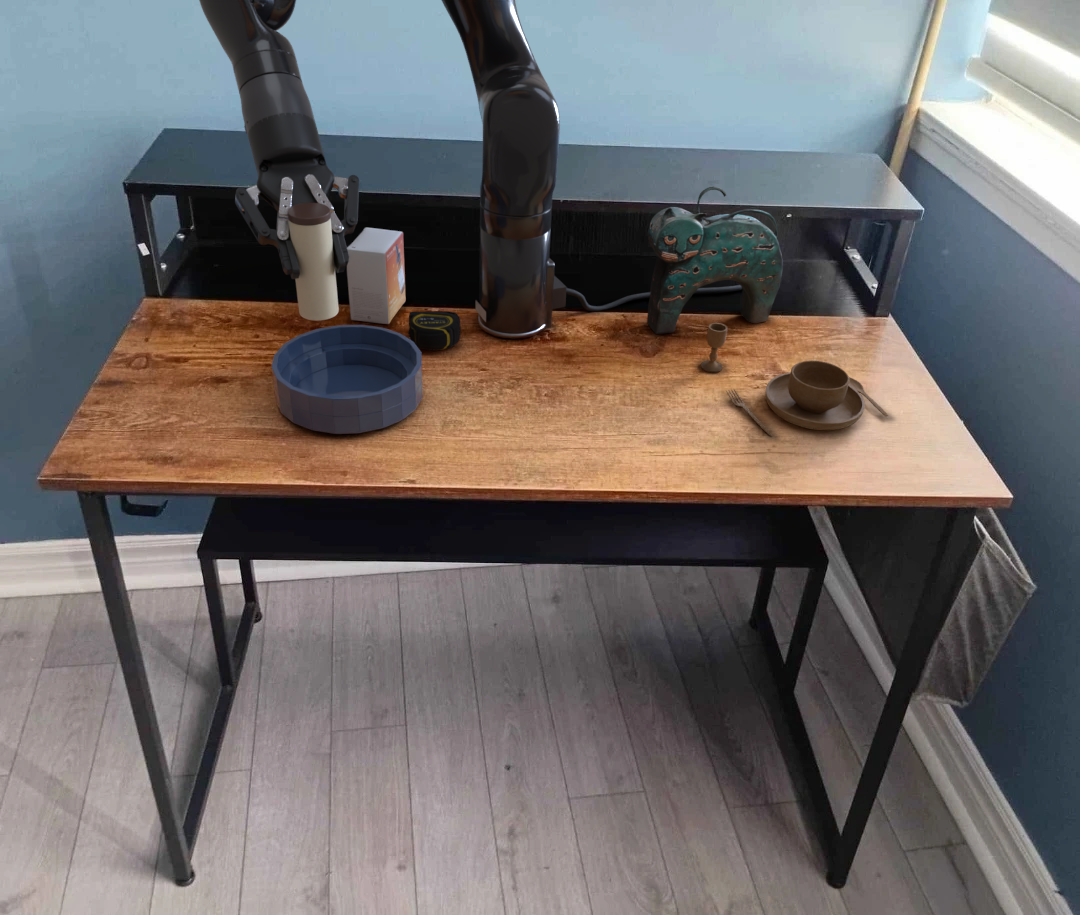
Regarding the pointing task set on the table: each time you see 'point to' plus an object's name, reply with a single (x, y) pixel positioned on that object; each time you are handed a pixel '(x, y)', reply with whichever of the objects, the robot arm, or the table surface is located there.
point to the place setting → (803, 391)
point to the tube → (314, 260)
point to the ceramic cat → (711, 261)
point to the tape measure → (434, 329)
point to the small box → (376, 275)
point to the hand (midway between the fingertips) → (319, 272)
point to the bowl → (348, 378)
